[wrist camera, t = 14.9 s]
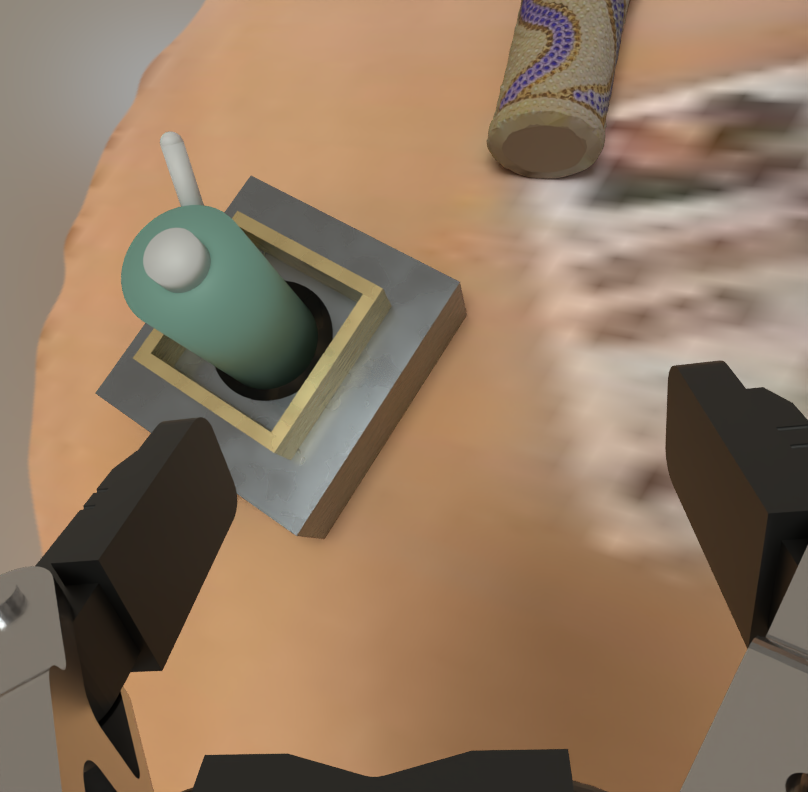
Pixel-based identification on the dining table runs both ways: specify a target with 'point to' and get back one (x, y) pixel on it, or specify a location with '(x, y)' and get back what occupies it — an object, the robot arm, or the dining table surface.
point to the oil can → (216, 288)
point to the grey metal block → (325, 375)
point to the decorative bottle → (557, 86)
